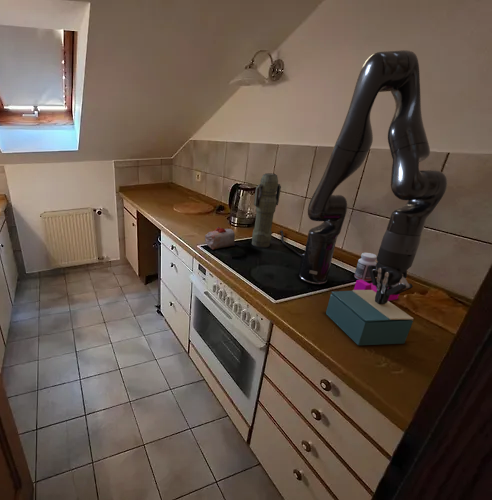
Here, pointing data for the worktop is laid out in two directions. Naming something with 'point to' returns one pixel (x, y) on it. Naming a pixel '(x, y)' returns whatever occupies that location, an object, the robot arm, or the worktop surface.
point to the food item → (220, 238)
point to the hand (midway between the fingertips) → (380, 302)
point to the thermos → (265, 209)
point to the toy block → (370, 288)
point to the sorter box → (365, 320)
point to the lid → (383, 306)
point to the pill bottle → (365, 266)
